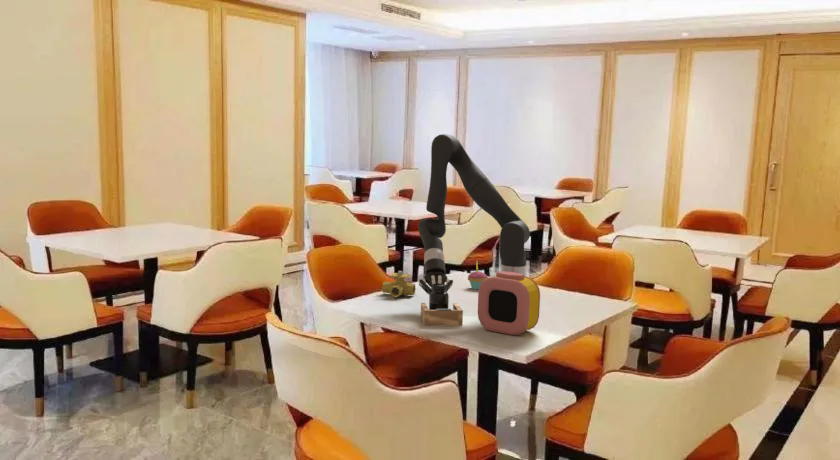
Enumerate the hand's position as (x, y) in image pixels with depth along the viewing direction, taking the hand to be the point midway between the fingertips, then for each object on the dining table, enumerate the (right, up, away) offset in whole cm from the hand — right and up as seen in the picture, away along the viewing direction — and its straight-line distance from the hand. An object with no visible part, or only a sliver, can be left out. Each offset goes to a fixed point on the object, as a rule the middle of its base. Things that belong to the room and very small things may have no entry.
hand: (437, 303), depth 261 cm
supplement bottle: (0, -5, -3) cm, 6 cm away
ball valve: (-15, 0, +31) cm, 34 cm away
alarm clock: (+23, -8, -17) cm, 30 cm away
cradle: (+1, -5, -7) cm, 8 cm away
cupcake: (+18, +1, +49) cm, 53 cm away
